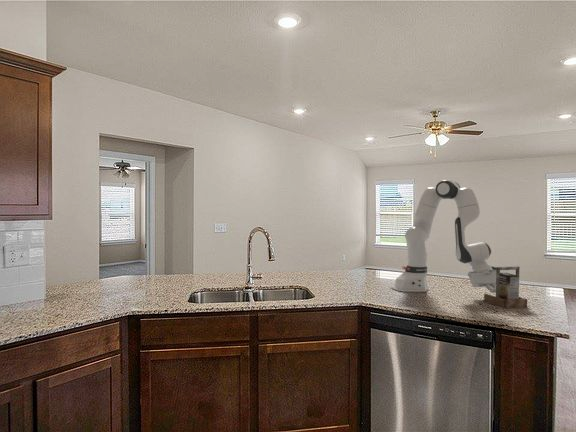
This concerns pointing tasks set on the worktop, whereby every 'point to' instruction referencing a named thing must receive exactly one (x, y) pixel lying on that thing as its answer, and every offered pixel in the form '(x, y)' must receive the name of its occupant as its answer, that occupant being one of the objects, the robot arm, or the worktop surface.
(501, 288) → the coffee box
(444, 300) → the worktop surface
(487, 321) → the worktop surface
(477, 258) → the robot arm
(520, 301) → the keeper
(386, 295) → the worktop surface
